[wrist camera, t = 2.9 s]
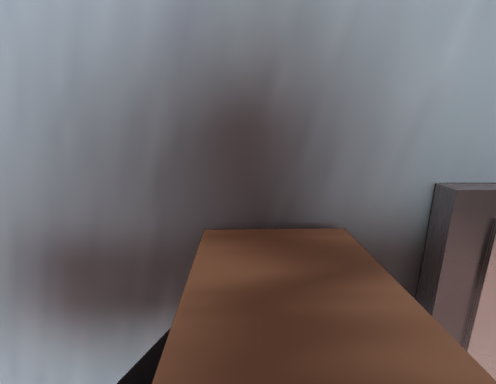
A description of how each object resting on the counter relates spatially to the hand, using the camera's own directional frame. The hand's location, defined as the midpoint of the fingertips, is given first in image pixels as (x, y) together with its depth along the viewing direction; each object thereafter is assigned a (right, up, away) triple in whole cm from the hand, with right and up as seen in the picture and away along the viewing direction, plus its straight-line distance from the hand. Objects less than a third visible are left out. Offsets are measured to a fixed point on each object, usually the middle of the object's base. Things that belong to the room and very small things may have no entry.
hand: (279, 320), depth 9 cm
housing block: (0, 0, +2) cm, 2 cm away
